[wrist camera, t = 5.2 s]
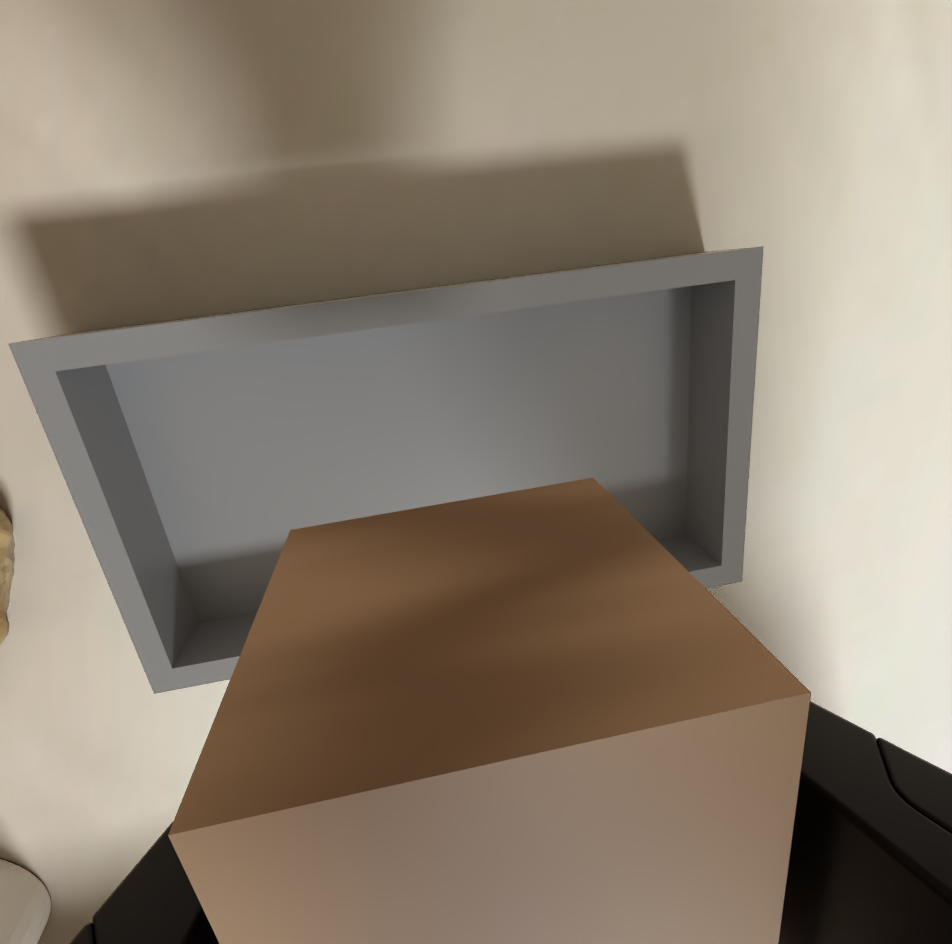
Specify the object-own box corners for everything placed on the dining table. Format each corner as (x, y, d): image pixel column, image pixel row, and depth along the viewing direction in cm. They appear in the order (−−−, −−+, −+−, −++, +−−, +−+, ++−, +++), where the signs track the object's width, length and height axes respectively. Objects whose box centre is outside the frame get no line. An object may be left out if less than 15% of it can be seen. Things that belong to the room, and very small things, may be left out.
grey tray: (705, 251, 18) (763, 246, 15) (696, 542, 22) (741, 581, 19) (75, 332, 16) (8, 344, 13) (188, 635, 20) (154, 693, 17)
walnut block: (593, 477, 9) (811, 692, 4) (603, 707, 11) (765, 1035, 6) (289, 529, 8) (168, 835, 4) (354, 761, 10) (323, 1162, 6)
